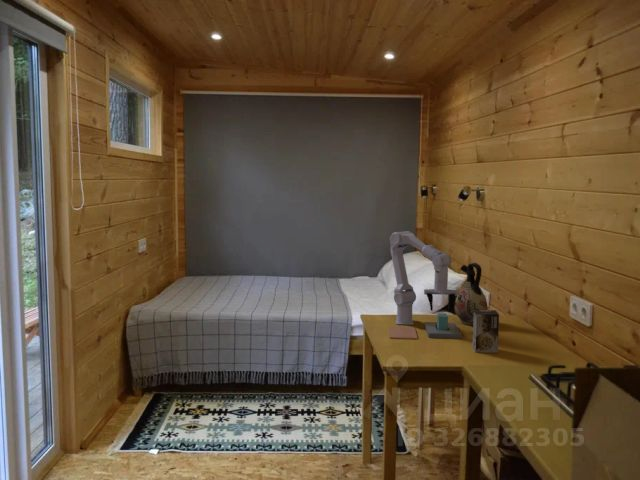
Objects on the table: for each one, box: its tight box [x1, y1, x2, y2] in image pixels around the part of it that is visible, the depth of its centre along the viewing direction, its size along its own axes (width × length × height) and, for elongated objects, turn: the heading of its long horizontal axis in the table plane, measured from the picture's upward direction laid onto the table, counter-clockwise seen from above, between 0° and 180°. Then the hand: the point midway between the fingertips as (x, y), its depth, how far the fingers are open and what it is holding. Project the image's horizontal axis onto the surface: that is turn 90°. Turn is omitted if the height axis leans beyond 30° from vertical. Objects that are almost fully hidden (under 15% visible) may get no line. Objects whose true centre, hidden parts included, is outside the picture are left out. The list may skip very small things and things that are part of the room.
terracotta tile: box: [388, 326, 418, 340], centre depth 239 cm, size 16×12×1 cm
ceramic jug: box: [454, 262, 489, 326], centre depth 254 cm, size 17×15×30 cm
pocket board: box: [424, 321, 462, 339], centre depth 241 cm, size 18×14×2 cm
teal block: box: [436, 312, 449, 330], centre depth 241 cm, size 6×4×8 cm, turn 175°
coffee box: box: [472, 309, 500, 354], centre depth 215 cm, size 9×6×16 cm
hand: (440, 310), depth 239 cm, fingers open, 7 cm apart
